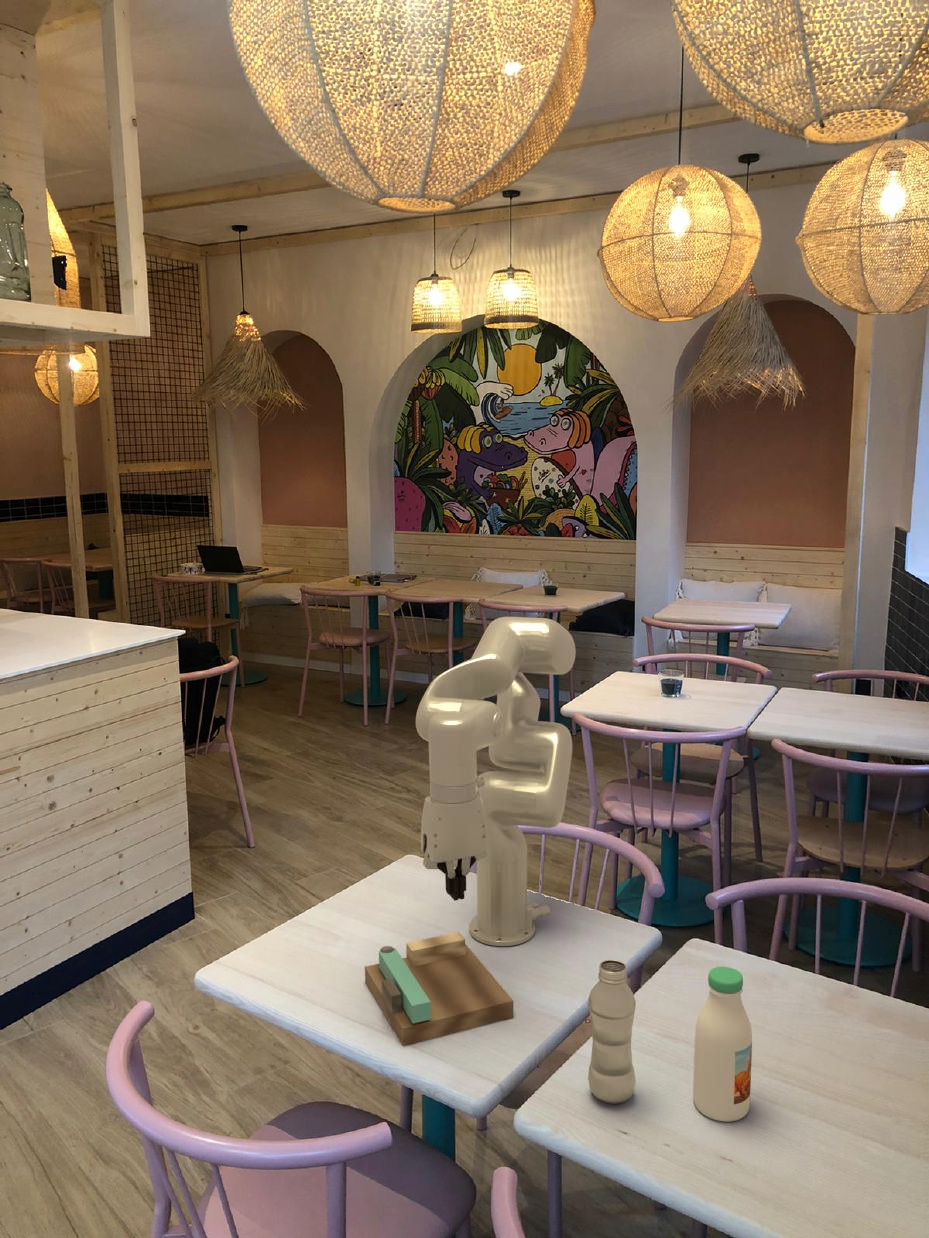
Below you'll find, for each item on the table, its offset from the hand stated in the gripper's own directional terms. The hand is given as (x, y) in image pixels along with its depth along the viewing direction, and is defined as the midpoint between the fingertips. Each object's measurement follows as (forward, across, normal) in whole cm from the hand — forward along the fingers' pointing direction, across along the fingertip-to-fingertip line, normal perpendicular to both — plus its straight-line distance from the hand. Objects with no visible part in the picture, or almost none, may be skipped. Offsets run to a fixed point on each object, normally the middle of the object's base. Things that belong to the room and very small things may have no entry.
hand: (456, 896), depth 159 cm
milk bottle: (+20, -24, +38) cm, 49 cm away
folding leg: (+16, +9, -3) cm, 19 cm away
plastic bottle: (+20, -11, +30) cm, 37 cm away
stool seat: (+20, +3, -3) cm, 20 cm away
